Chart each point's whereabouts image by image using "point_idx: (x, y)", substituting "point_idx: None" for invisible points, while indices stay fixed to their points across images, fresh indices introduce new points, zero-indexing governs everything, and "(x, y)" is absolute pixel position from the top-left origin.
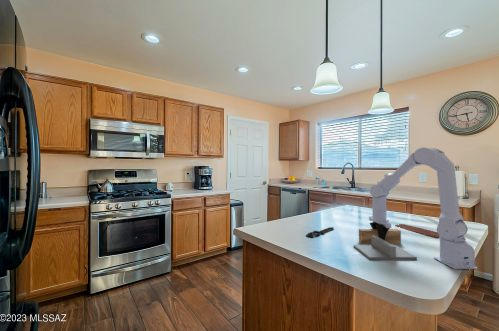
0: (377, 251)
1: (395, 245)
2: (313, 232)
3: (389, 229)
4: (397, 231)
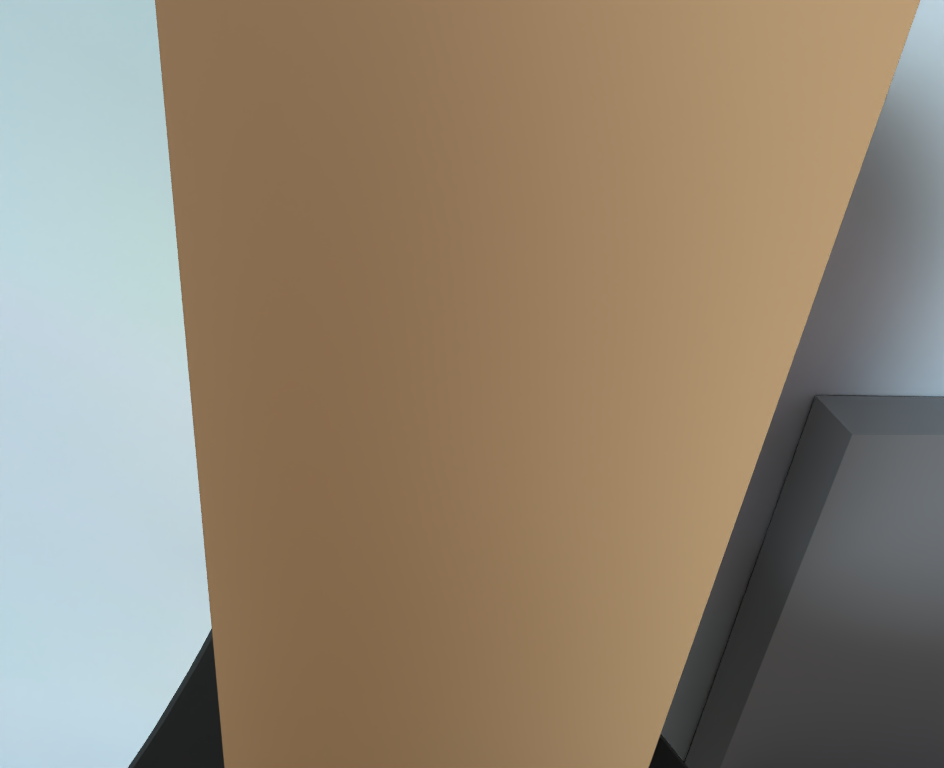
0: None
1: (935, 444)
2: None
3: (393, 644)
4: (797, 198)
